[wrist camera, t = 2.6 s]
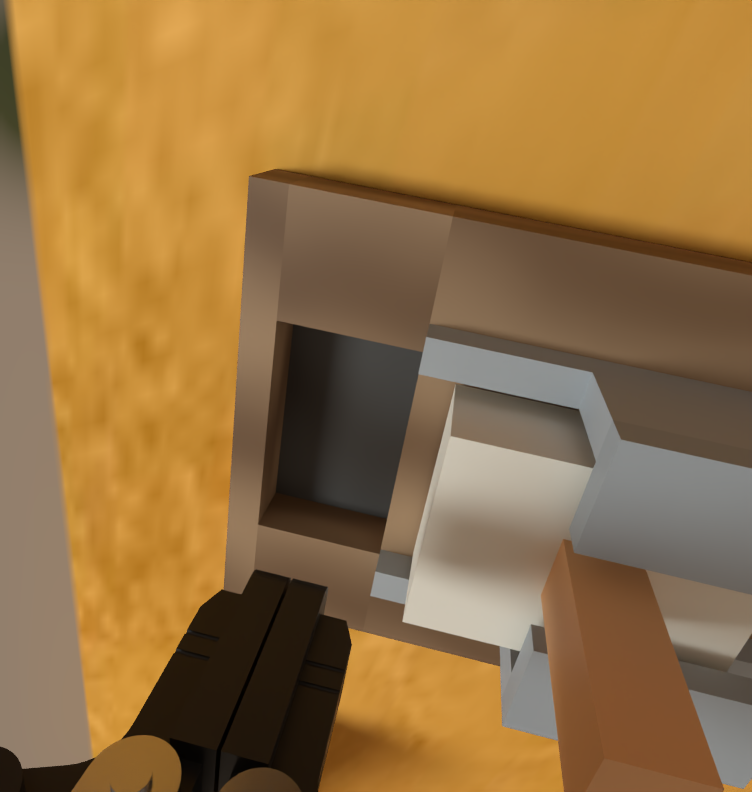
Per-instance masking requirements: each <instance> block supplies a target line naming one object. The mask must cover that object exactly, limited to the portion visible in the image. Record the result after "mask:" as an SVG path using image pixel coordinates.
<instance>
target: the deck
mask: <svg viewBox="0 0 752 792" xmlns="http://www.w3.org/2000/svg"><path fill="white" fill-rule="evenodd" d="M429 324H433V325H438V326H443V327H448V328H452V329H457V330H462V331H466V332H471V333H476V334H481V335H485V336H490V337H495V338H499V339H504V340H509V341H514V342H518V343H523V344H528V345H532V346H537V347H542V348H547V349H551V350H556V351H561V352H566V353H570V354H575V355H580V356H584V357H589V358H594V359H599V360H603V361H608V362H613V363H617V364H622V365H627V366H632V367H636V368H641V369H646V370H650V371H655V372H660V373H665V374H669V375H674V376H679V377H683V378H688V379H693V380H698V381H702V382H707V383H712V384H716V385H721V386H726V387H731V388H735V389H740V390H745V391H750V392H752V263H751V262H746V261H741V260H736V259H731V258H726V257H720V256H715V255H710V254H705V253H700V252H695V251H690V250H685V249H680V248H675V247H670V246H664V245H659V244H654V243H649V242H644V241H639V240H634V239H629V238H624V237H619V236H613V235H608V234H603V233H598V232H593V231H588V230H583V229H578V228H573V227H568V226H563V225H557V224H552V223H547V222H542V221H537V220H532V219H527V218H522V217H517V216H512V215H506V214H501V213H496V212H491V211H486V210H481V209H476V208H471V207H466V206H461V205H456V204H450V203H445V202H440V201H435V200H430V199H425V198H420V197H415V196H410V195H405V194H400V193H394V192H389V191H384V190H379V189H374V188H369V187H364V186H359V185H354V184H349V183H343V182H338V181H333V180H328V179H323V178H318V177H313V176H308V175H303V174H298V173H293V172H287V171H282V170H277V169H274V170H270V171H266V172H263V173H259V174H255V175H252V176H249V186H248V202H247V219H246V235H245V251H244V268H243V284H242V300H241V317H240V333H239V349H238V366H237V382H236V398H235V415H234V431H233V447H232V464H231V480H230V496H229V513H228V529H227V545H226V562H225V578H224V590H226V591H230V592H234V593H238V594H242V592H243V590H244V588H245V586H246V584H247V583H248V581H249V579H250V577H251V575H252V573H253V571H254V570H256V569H257V570H261V571H265V572H269V573H273V574H277V575H281V576H285V577H289V578H291V580H292V579H293V578H294V579H298V580H302V581H306V582H310V583H314V584H318V585H322V586H326V587H328V594H327V600H326V605H325V611H324V615H326V616H330V617H334V618H338V619H342V620H346V621H347V625H348V628H351V629H355V630H359V631H363V632H367V633H371V634H375V635H378V636H382V637H386V638H390V639H394V640H398V641H402V642H406V643H410V644H414V645H418V646H422V647H426V648H430V649H434V650H438V651H442V652H446V653H450V654H454V655H458V656H462V657H465V658H469V659H473V660H477V661H481V662H485V663H489V664H493V665H497V666H500V646H497V645H493V644H489V643H485V642H481V641H477V640H473V639H469V638H465V637H461V636H457V635H453V634H449V633H445V632H441V631H437V630H433V629H429V628H425V627H421V626H417V625H413V624H409V623H405V622H402V621H403V615H404V608H405V604H401V603H397V602H393V601H389V600H385V599H381V598H377V597H373V596H370V594H371V590H372V585H373V580H374V576H375V571H376V567H377V563H378V558H379V554H380V550H385V551H389V552H393V553H397V554H401V555H406V556H410V557H413V552H414V548H415V544H416V540H417V536H418V532H419V528H420V524H421V520H422V516H423V512H424V508H425V504H426V500H427V496H428V492H429V488H430V484H431V480H432V476H433V472H434V468H435V464H436V460H437V456H438V452H439V448H440V444H441V440H442V436H443V432H444V428H445V424H446V420H447V416H448V412H449V408H450V404H451V400H452V396H453V392H454V388H455V384H458V385H463V386H468V387H472V388H477V389H481V390H486V391H490V392H495V393H500V394H504V395H509V396H513V397H518V398H522V399H527V400H532V401H536V402H541V403H545V404H550V405H554V406H559V407H564V408H568V409H573V410H577V411H580V410H579V409H575V408H571V407H566V406H562V405H557V404H553V403H548V402H543V401H539V400H534V399H530V398H525V397H521V396H516V395H511V394H507V393H502V392H498V391H493V390H489V389H484V388H479V387H475V386H470V385H466V384H461V383H457V382H452V381H447V380H443V379H438V378H434V377H429V376H424V375H420V374H418V373H419V368H420V364H421V359H422V355H423V350H424V345H425V341H426V336H427V332H428V328H429ZM749 639H752V634H751V635H750V637H749Z"/></svg>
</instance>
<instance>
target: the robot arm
mask: <svg viewBox="0 0 752 792" xmlns="http://www.w3.org/2000/svg"><path fill="white" fill-rule="evenodd" d="M327 594H328V587H326V586H322V585H318V584H314V583H310V582H306V581H302V580H298V579H294V578H293V579H292V580H291V578H289V577H285V576H281V575H277V574H273V573H269V572H265V571H261V570H257V569H256V570H254V571H253V573H252V575H251V577H250V579H249V581H248V583H247V584H246V586H245V588H244V590H243V592H242V594H238V593H234V592H230V591H226V590H221V591H219V592H218V593H217V594H216V595H214V596H213V597H212V598H211V599H209V600H208V601H207V602H206V603H204V604H203V605H202V606H201V607H200V608H199V610H198V612H197V614H196V615H195V617H194V619H193V621H192V622H191V624H190V626H189V628H188V629H187V633H186V634H184V636H183V638H182V640H181V641H180V643H179V645H178V647H177V649H176V652H175V653H174V654H173V655H172V657H171V659H170V661H169V662H168V664H167V666H166V668H165V669H164V671H163V673H162V675H161V676H160V678H159V680H158V681H157V683H156V685H155V687H154V688H153V690H152V692H151V694H150V695H149V697H148V699H147V701H146V702H145V704H144V706H143V708H142V709H141V711H140V713H139V715H138V716H137V718H136V720H135V722H134V723H133V725H132V726H131V728H130V729H129V731H128V732H127V733H126V735H125V736H124V737H123V738H122V739H121V740H119V741H117V742H115V743H113V744H112V745H110V746H108V747H107V748H106V749H104V750H103V751H102V752H101V753H100V754H99V755H98V756H97V757H95V758H93V759H90V760H88V761H85V762H81V763H78V764H72V765H64V766H52V767H40V768H29V769H22V767H21V764H20V762H19V760H18V758H17V757H16V756H15V755H14V754H13V753H12V752H11V751H9V750H8V749H5V748H3V747H0V792H318V789H319V785H320V781H321V776H322V772H323V768H324V764H325V760H326V756H327V752H328V747H329V743H330V739H331V735H332V731H333V727H334V723H335V719H336V715H337V711H338V706H339V702H340V698H341V694H342V689H343V684H344V679H345V674H346V670H347V665H348V660H349V655H350V650H351V646H352V644H351V639H350V635H349V630H348V625H347V621H346V620H342V619H338V618H334V617H330V616H326V615H324V611H325V605H326V600H327Z"/></svg>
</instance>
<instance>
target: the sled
mask: <svg viewBox="0 0 752 792" xmlns="http://www.w3.org/2000/svg"><path fill="white" fill-rule="evenodd" d="M595 463H596V460H595V457H594V453H593V450H592V447H591V444H590V441H589V438H588V435H587V432H586V429H585V426H584V423H583V420H582V416H581V413H580V411H577V410H573V409H568V408H564V407H559V406H554V405H550V404H545V403H541V402H536V401H532V400H527V399H522V398H518V397H513V396H509V395H504V394H500V393H495V392H490V391H486V390H481V389H477V388H472V387H468V386H463V385H458V384H455V388H454V392H453V396H452V400H451V404H450V408H449V412H448V416H447V420H446V424H445V428H444V432H443V436H442V440H441V444H440V448H439V452H438V456H437V460H436V464H435V468H434V472H433V476H432V480H431V484H430V488H429V492H428V496H427V500H426V504H425V508H424V512H423V516H422V520H421V524H420V528H419V532H418V536H417V540H416V544H415V548H414V552H413V558H412V564H411V571H410V577H409V583H408V590H407V596H406V602H405V608H404V615H403V621H402V622H405V623H409V624H413V625H417V626H421V627H425V628H429V629H433V630H437V631H441V632H445V633H449V634H453V635H457V636H461V637H465V638H469V639H473V640H477V641H481V642H485V643H489V644H493V645H497V646H501V647H505V648H509V649H513V650H517V651H520V650H521V648H522V645H523V643H524V640H525V638H526V635H527V633H528V630H529V628H530V625H531V624H533V625H537V626H541V627H545V635H546V644H547V652H548V660H549V669H550V677H551V685H552V694H553V702H554V710H555V719H556V727H557V735H558V744H559V752H560V761H561V769H562V777H563V786H564V792H723V790H724V788H723V785H722V782H721V779H720V776H719V774H718V771H717V768H716V765H715V762H714V760H713V757H712V754H711V751H710V748H709V746H708V743H707V740H706V737H705V734H704V732H703V729H702V726H701V723H700V720H699V718H698V715H697V712H696V709H695V706H694V704H693V701H692V698H691V695H690V692H689V689H688V687H687V684H686V681H685V678H684V675H683V673H682V670H681V667H680V664H679V661H683V662H687V663H691V664H695V665H699V666H703V667H707V668H711V669H715V670H719V671H723V672H727V671H728V669H729V668H730V666H731V665H732V663H733V661H734V660H735V658H736V657H737V655H738V654H739V652H740V651H741V649H742V648H743V646H744V644H745V643H746V641H747V640H748V638H749V637H750V635H751V634H752V595H750V594H746V593H742V592H738V591H733V590H729V589H725V588H721V587H717V586H712V585H708V584H704V583H700V582H695V581H691V580H687V579H683V578H679V577H674V576H670V575H666V574H662V573H657V572H653V571H649V570H645V569H640V568H636V567H632V566H628V565H624V564H619V563H615V562H611V561H607V560H602V559H598V558H594V557H590V556H585V555H581V554H577V553H574V550H573V545H572V540H571V535H570V531H569V528H570V525H571V523H572V520H573V518H574V515H575V513H576V510H577V508H578V505H579V503H580V500H581V498H582V495H583V493H584V490H585V488H586V485H587V483H588V480H589V478H590V475H591V473H592V470H593V468H594V465H595ZM678 660H679V661H678Z"/></svg>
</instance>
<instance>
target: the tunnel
mask: <svg viewBox="0 0 752 792" xmlns="http://www.w3.org/2000/svg"><path fill="white" fill-rule="evenodd" d="M418 374H420V375H424V376H429V377H434V378H438V379H443V380H447V381H452V382H457V383H461V384H466V385H470V386H475V387H479V388H484V389H489V390H493V391H498V392H502V393H507V394H511V395H516V396H521V397H525V398H530V399H534V400H539V401H543V402H548V403H553V404H557V405H562V406H566V407H571V408H575V409H579V410H580V413H581V416H582V420H583V423H584V426H585V429H586V432H587V435H588V438H589V441H590V444H591V447H592V450H593V453H594V457H595V460H596V463H595V465H594V468H593V470H592V473H591V475H590V478H589V480H588V483H587V485H586V488H585V490H584V493H583V495H582V498H581V500H580V503H579V505H578V508H577V510H576V513H575V515H574V518H573V520H572V523H571V525H570V528H569V531H570V535H571V540H572V545H573V550H574V553H577V554H581V555H585V556H590V557H594V558H598V559H602V560H607V561H611V562H615V563H619V564H624V565H628V566H632V567H636V568H640V569H645V570H649V571H653V572H657V573H662V574H666V575H670V576H674V577H679V578H683V579H687V580H691V581H695V582H700V583H704V584H708V585H712V586H717V587H721V588H725V589H729V590H733V591H738V592H742V593H746V594H750V595H752V392H750V391H745V390H740V389H735V388H731V387H726V386H721V385H716V384H712V383H707V382H702V381H698V380H693V379H688V378H683V377H679V376H674V375H669V374H665V373H660V372H655V371H650V370H646V369H641V368H636V367H632V366H627V365H622V364H617V363H613V362H608V361H603V360H599V359H594V358H589V357H584V356H580V355H575V354H570V353H566V352H561V351H556V350H551V349H547V348H542V347H537V346H532V345H528V344H523V343H518V342H514V341H509V340H504V339H499V338H495V337H490V336H485V335H481V334H476V333H471V332H466V331H462V330H457V329H452V328H448V327H443V326H438V325H433V324H429V328H428V332H427V336H426V341H425V345H424V350H423V355H422V359H421V364H420V368H419V373H418ZM412 558H413V557H410V556H406V555H401V554H397V553H393V552H389V551H385V550H380V554H379V558H378V563H377V567H376V571H375V576H374V580H373V585H372V590H371V594H370V596H373V597H377V598H381V599H385V600H389V601H393V602H397V603H401V604H405V602H406V596H407V590H408V583H409V577H410V571H411V564H412ZM678 661H679V660H678ZM679 664H680V667H681V670H682V673H683V675H684V678H685V681H686V684H687V687H688V689H689V692H690V695H691V698H692V701H693V704H694V706H695V709H696V712H697V715H698V718H699V720H700V723H701V726H702V729H703V732H704V734H705V737H706V740H707V743H708V746H709V748H710V751H711V754H712V757H713V760H714V762H715V765H716V768H717V771H718V774H719V776H720V779H721V782H722V783H723V784H727V785H730V786H734V787H738V788H742V789H744V788H745V786H746V785H747V784H748V783H749V781H750V780H751V779H752V639H749V638H748V640H747V641H746V643H745V644H744V646H743V648H742V649H741V651H740V652H739V654H738V655H737V657H736V658H735V660H734V661H733V663H732V665H731V666H730V668H729V669H728V671H727V672H723V671H719V670H715V669H711V668H707V667H703V666H699V665H695V664H691V663H687V662H683V661H679ZM500 670H501V702H502V726H504V727H508V728H511V729H515V730H519V731H523V732H527V733H531V734H534V735H538V736H542V737H546V738H550V739H554V740H558V735H557V727H556V719H555V710H554V702H553V694H552V685H551V677H550V669H549V660H548V652H547V644H546V635H545V627H541V626H537V625H533V624H531V625H530V628H529V630H528V633H527V635H526V638H525V640H524V643H523V645H522V648H521V650H520V651H517V650H513V649H509V648H505V647H501V646H500Z"/></svg>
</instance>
